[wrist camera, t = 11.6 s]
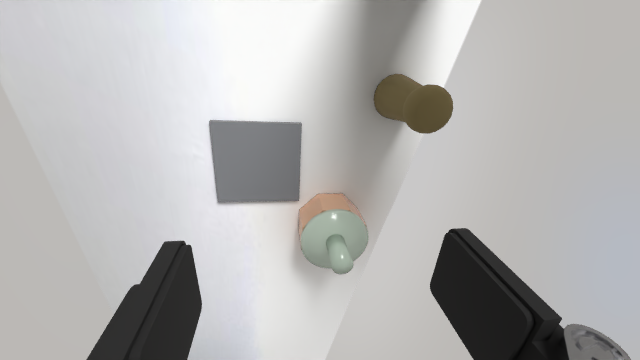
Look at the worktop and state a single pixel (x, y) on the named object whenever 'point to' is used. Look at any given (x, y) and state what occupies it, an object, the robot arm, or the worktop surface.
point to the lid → (334, 239)
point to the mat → (256, 160)
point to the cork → (413, 103)
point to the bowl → (324, 208)
